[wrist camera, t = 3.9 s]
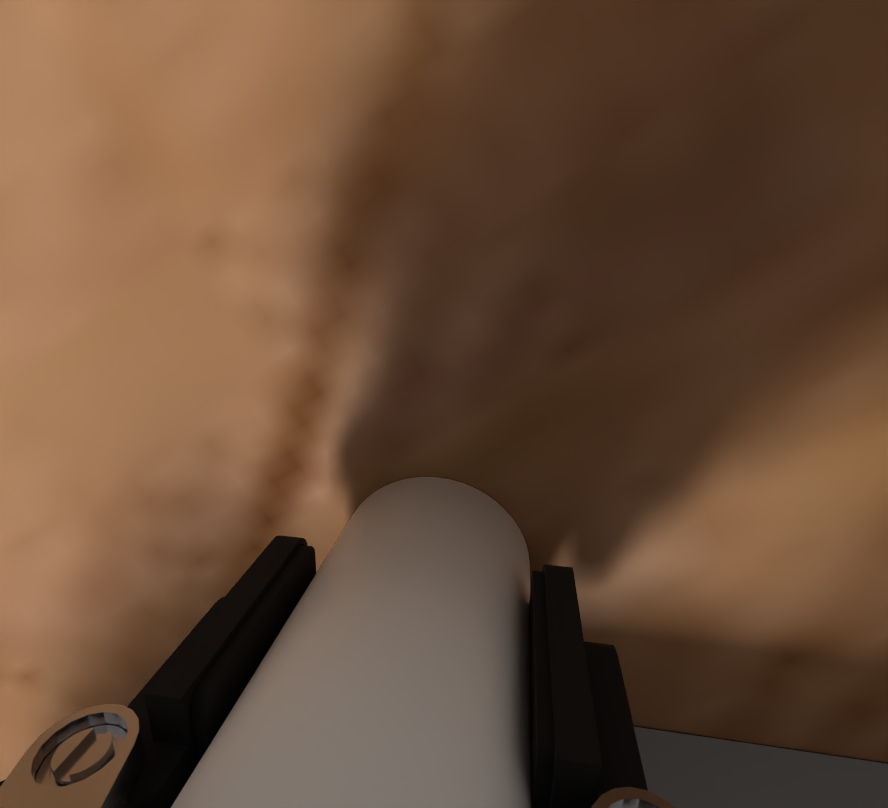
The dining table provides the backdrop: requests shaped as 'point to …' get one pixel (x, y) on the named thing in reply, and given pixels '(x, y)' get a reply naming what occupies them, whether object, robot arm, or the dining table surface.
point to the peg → (392, 669)
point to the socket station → (755, 774)
